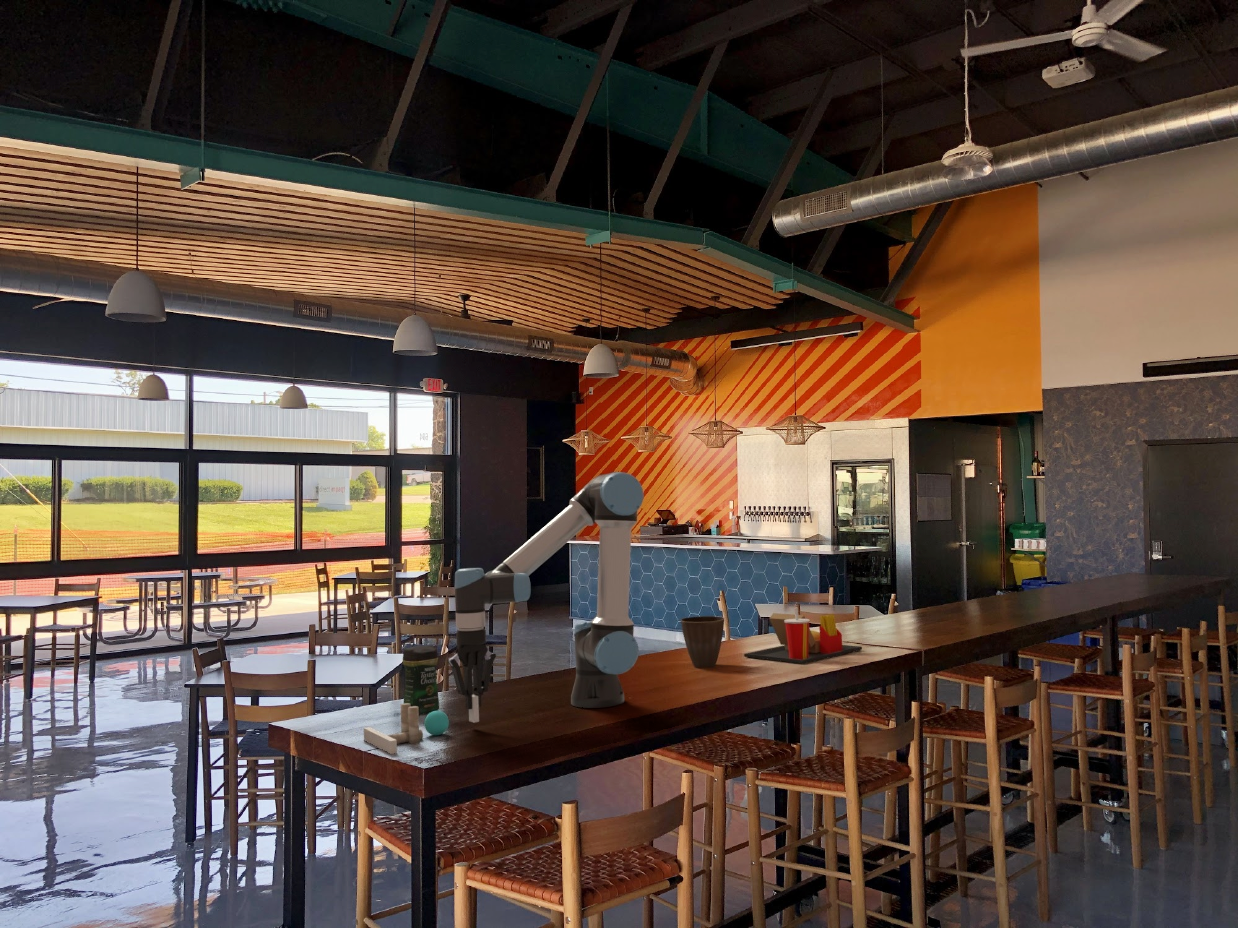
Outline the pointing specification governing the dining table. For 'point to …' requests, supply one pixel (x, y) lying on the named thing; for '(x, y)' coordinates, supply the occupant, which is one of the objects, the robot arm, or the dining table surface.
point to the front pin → (404, 736)
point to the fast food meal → (803, 640)
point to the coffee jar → (421, 678)
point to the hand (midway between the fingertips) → (474, 721)
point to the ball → (436, 723)
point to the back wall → (380, 740)
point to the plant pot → (703, 639)
